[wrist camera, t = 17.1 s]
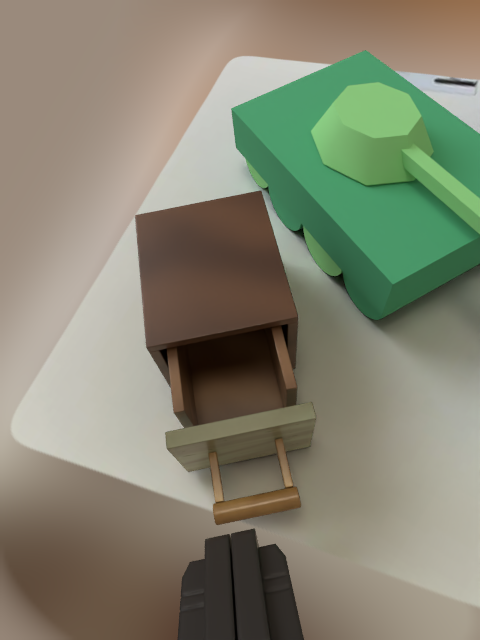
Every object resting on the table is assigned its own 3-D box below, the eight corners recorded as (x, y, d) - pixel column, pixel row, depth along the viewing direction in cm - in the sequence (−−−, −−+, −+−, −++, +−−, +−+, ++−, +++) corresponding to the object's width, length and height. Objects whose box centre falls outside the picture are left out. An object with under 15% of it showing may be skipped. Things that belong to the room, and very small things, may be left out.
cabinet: (295, 368, 42) (298, 316, 33) (173, 393, 41) (146, 347, 33) (265, 255, 49) (261, 190, 40) (160, 276, 48) (134, 215, 40)
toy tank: (483, 337, 29) (227, 75, 45) (430, 401, 39) (238, 170, 56) (678, 220, 32) (371, 14, 48) (579, 309, 42) (355, 116, 59)
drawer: (327, 508, 35) (337, 492, 28) (195, 536, 34) (174, 527, 28) (277, 319, 43) (276, 272, 37) (172, 341, 43) (151, 297, 36)
